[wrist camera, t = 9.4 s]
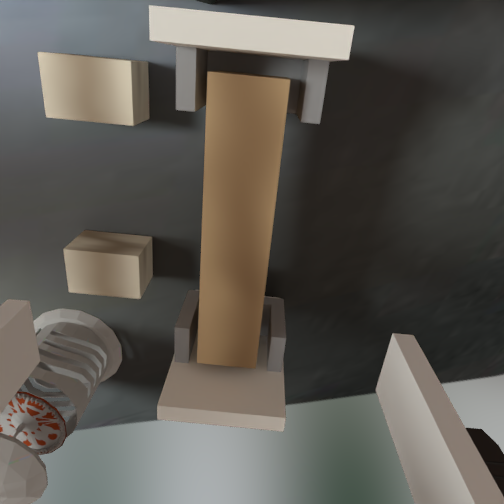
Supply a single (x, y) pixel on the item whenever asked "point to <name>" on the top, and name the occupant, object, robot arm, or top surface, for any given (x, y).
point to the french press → (44, 413)
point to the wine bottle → (207, 1)
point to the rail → (238, 211)
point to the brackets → (299, 102)
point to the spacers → (103, 111)
